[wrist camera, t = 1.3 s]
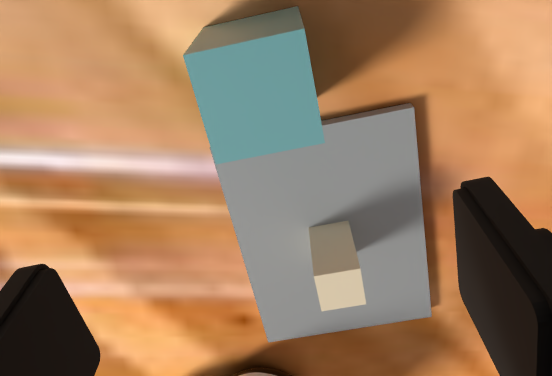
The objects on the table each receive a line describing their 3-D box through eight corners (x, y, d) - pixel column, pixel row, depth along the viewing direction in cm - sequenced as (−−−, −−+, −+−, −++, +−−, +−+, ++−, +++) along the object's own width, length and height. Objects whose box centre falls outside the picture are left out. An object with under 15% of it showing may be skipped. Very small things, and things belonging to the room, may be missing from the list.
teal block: (203, 27, 26) (183, 55, 21) (298, 5, 26) (304, 28, 20) (228, 116, 29) (215, 164, 23) (314, 98, 28) (325, 143, 22)
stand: (211, 142, 30) (198, 187, 24) (410, 102, 28) (440, 141, 23) (268, 334, 37) (267, 399, 32) (428, 308, 36) (454, 372, 31)
